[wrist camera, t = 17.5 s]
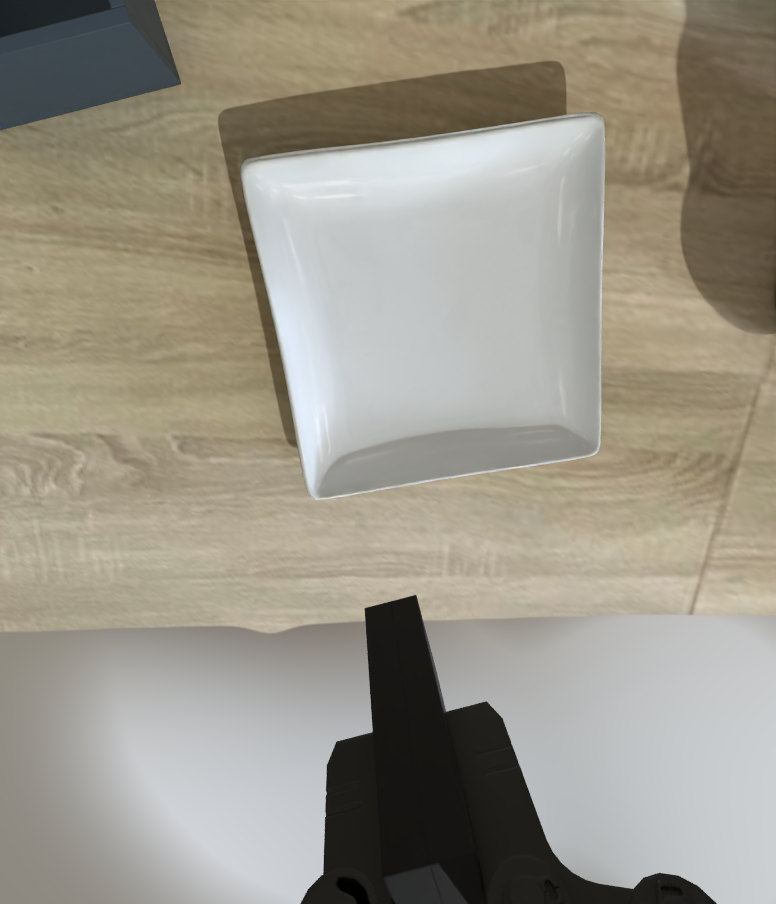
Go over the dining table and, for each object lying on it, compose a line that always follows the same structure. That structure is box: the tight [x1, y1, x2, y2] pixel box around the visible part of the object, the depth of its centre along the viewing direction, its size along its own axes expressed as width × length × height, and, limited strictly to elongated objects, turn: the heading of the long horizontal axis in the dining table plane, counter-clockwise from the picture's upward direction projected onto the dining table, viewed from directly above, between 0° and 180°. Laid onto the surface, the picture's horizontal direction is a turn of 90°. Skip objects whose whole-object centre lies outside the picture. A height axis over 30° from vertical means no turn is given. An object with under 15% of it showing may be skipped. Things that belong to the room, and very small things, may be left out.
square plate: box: [240, 112, 605, 500], centre depth 41 cm, size 27×27×4 cm
